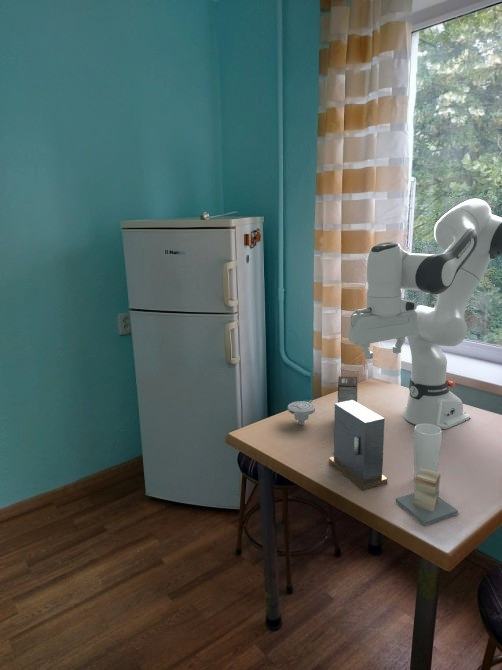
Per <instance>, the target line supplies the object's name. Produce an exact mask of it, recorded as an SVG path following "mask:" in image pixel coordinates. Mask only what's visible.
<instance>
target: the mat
mask: <svg viewBox="0 0 502 670" xmlns="http://www.w3.org/2000/svg"><path fill="white" fill-rule="evenodd" d="M414 495H415V492H412V493H409V494H406V495H404V496H400V497H397V498H395V503H396V504H397V505H398V506H400V507H401V508H402V509H404V510H405V511H406V512H407V513H408V514H410V515H411V516H412V517H413V518H414V519H416V520H417V521H418V522H419V523H421V524H422V525H423V526H428V525H430V524H433V523H437V522H439V521H442V520H445V519H447V518H448V519H449V518H451V517H453V516H454V517H455V516H457V515H459V510H458V509H457V508H456V507H454V506H452V505H451V504H450V503H448V502H447V501H446V500H444V499H443V498H441V497H439V496H438V503H437V506H436V508H435V510H434V512H432V511H429V510H425V509H422V508H419V507H416V506H414Z"/></svg>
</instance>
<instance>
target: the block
mask: <svg viewBox="0 0 502 670" xmlns="http://www.w3.org/2000/svg"><path fill="white" fill-rule="evenodd" d="M440 480H441V472H439V471H436V472H435V471H432V470H428V469H424V468H420V470H419V472H418V473H417V475H416V478H414V484H415V485H414V493H415V495H414V506H416V507H419V508H422V509H425V510H429V511H432V512H434V510H435V508H436V506H437V503H438V497H439V493H440V484H441V483H440V482H441V481H440Z"/></svg>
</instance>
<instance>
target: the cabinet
mask: <svg viewBox="0 0 502 670" xmlns="http://www.w3.org/2000/svg"><path fill="white" fill-rule="evenodd" d="M385 422H386V421H385V417H383V416H381V415H380V414H378V413H377V412H374V411H373V410H371V409H369V408H368V407H366V406H364V405H362V404H361V403H359V402H358V401H357V402H356V401H354V400H350V401H345V402H340V403H338V402H336V403H334V422H333V423H334V425H333V426H334V428H333V431H334V435H333V437H334V438H333V439H334V440H333V456H330V457H329V458H328V463H329V464H330V465H331V466H332V467H334V468H335V470H337V471H338V472H339V473H341V475H343V476H344V477H345V478H346V479H348V480H349V481H350V482H351V483H352V484H354V486H356V487H357V488H358V489H359V490H360V491H362V492H364V491H367V490H370V489H373V488H378V487H380V486H384V485H388V478H387V477H386V476H385V475H383V465H384V463H383V461H384V440H385Z"/></svg>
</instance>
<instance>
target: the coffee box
mask: <svg viewBox="0 0 502 670" xmlns="http://www.w3.org/2000/svg"><path fill="white" fill-rule="evenodd" d="M337 380H338V381H337V382H338V383H337V403H340V402H345V401H350V400H354V401H356V402H357V403H358V376H338V379H337Z"/></svg>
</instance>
